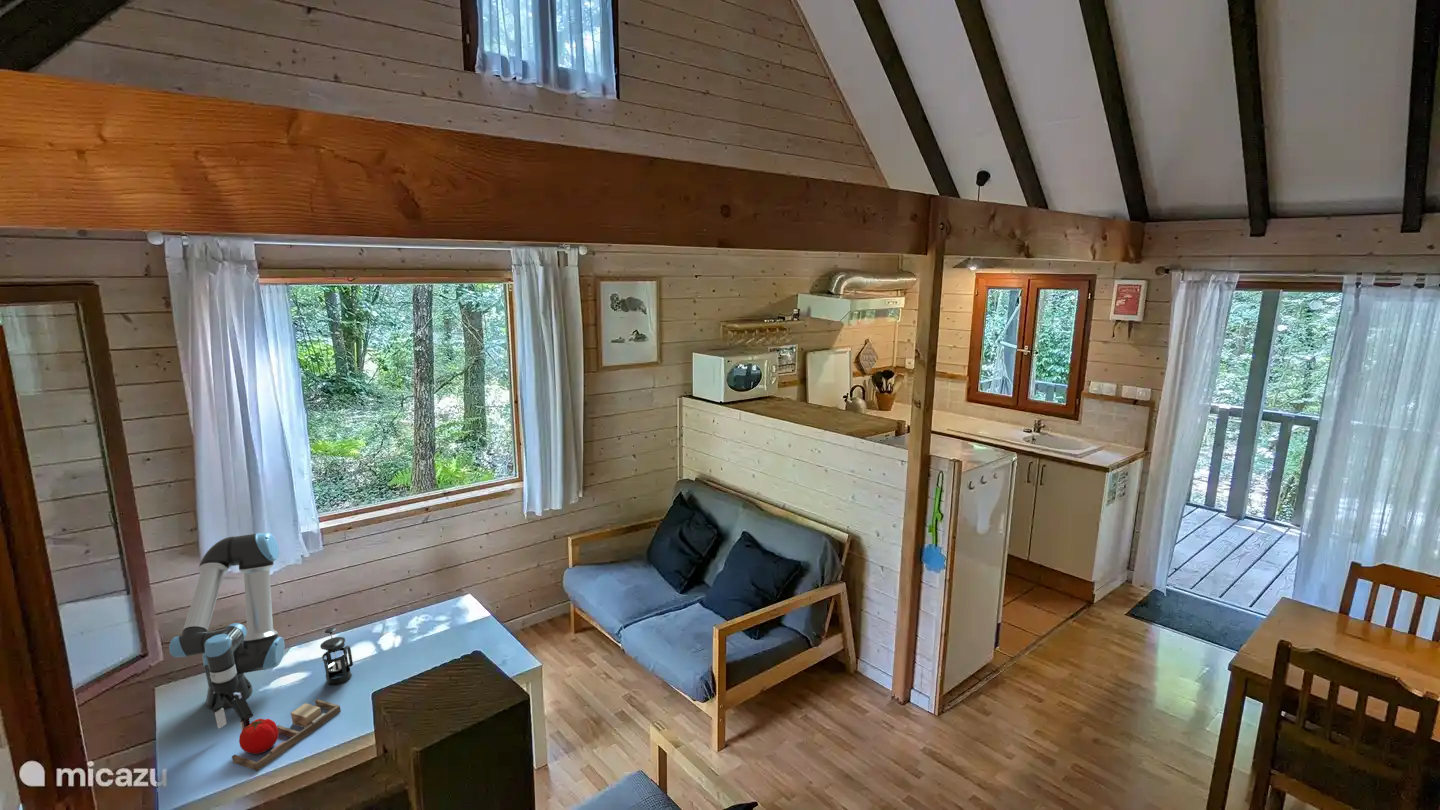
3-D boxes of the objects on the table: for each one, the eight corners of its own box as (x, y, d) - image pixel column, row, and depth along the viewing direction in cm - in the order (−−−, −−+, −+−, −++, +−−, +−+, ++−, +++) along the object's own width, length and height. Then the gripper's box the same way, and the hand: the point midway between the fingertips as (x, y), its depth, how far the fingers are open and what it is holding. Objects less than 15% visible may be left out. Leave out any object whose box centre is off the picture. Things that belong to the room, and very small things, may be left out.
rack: (233, 762, 237) (231, 754, 237) (318, 704, 267) (316, 697, 267) (257, 771, 233) (255, 763, 232) (340, 711, 263) (339, 704, 262)
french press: (334, 689, 277) (325, 638, 272) (319, 684, 281) (310, 633, 276) (360, 673, 287) (352, 623, 282) (345, 668, 291) (337, 619, 286)
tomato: (284, 748, 244) (279, 721, 241) (246, 766, 236) (240, 738, 233) (275, 733, 252) (270, 706, 249) (238, 749, 244) (232, 722, 241)
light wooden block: (292, 724, 257) (290, 712, 255) (307, 714, 262) (305, 703, 261) (308, 729, 254) (305, 717, 253) (322, 719, 259) (320, 707, 258)
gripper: (190, 676, 244) (201, 729, 249) (237, 691, 235) (247, 744, 240) (212, 665, 251) (222, 716, 255) (258, 678, 242) (268, 731, 246)
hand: (234, 730), depth 247 cm, fingers open, 13 cm apart
